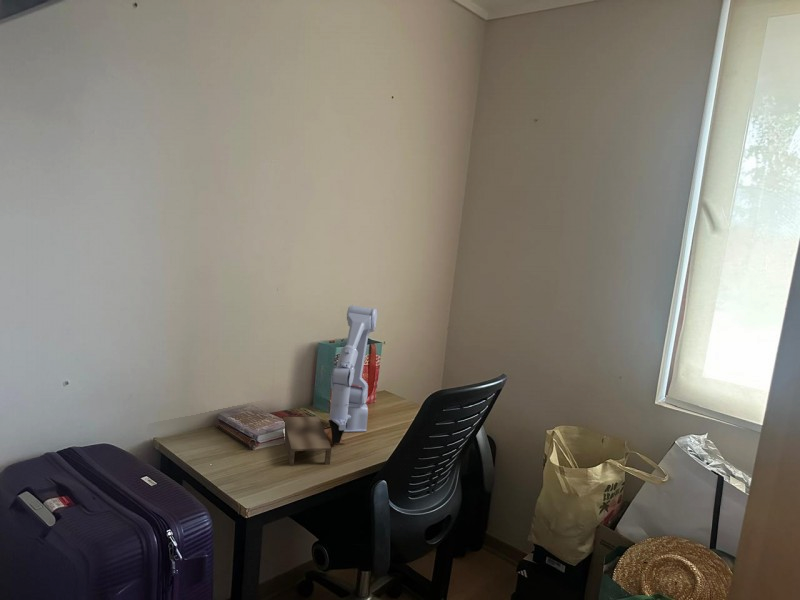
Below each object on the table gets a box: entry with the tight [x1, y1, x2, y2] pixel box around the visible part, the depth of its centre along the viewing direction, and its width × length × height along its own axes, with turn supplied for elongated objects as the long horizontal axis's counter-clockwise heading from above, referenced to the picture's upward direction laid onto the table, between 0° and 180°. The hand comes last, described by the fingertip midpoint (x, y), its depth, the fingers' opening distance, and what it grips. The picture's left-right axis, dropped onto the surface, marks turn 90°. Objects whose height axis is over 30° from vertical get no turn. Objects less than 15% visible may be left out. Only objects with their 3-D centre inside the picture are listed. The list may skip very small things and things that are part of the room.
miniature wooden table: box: [282, 416, 332, 467], centre depth 177 cm, size 12×25×5 cm, turn 18°
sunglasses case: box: [298, 427, 346, 453], centre depth 182 cm, size 18×7×7 cm, turn 127°
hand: (336, 442), depth 180 cm, fingers closed
